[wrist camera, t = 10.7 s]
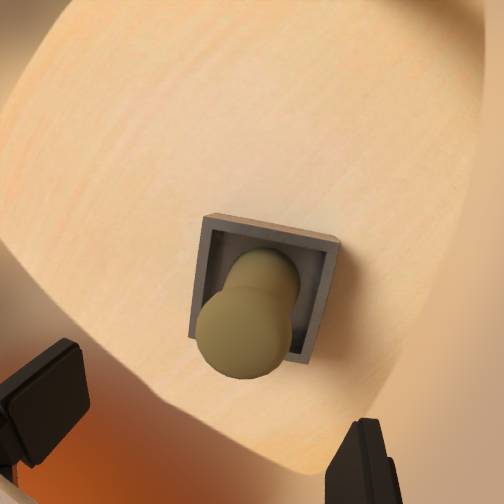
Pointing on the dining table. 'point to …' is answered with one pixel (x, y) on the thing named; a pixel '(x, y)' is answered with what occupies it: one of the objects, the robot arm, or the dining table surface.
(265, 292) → the cork
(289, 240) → the socket
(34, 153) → the dining table surface
